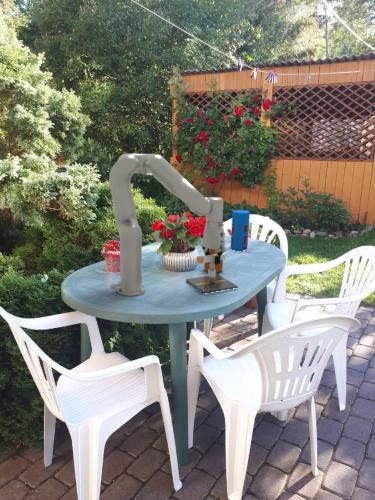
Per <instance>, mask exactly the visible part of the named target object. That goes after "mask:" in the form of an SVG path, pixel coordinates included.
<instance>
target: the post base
mask: <svg viewBox="0 0 375 500" xmlns="http://www.w3.org/2000/svg"><path fill="white" fill-rule="evenodd" d="M185 283H186V284H188V283H189V284H188V285H190V286H191V285H192V286H193V287H192V286H191V287H192V288H194V287H195V288H196V289H198V290H199V291H201V292H202V293H204V294H205V293H211V292H216V291H221V290H227V289H233V288H238V289H239V286H238V285H236V284H235V283H233V282H231V281H230V280H228V279H226V278H225V277H223V276H221V275H220V274H217V273H216V269H214V270H211V269H208V272H207V275H205V276H199V277H192V278H186V279H185ZM195 288H194V289H195ZM196 289H195V290H196ZM198 290H197V291H198ZM199 291H198V292H199ZM202 293H201V294H202Z"/></svg>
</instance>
